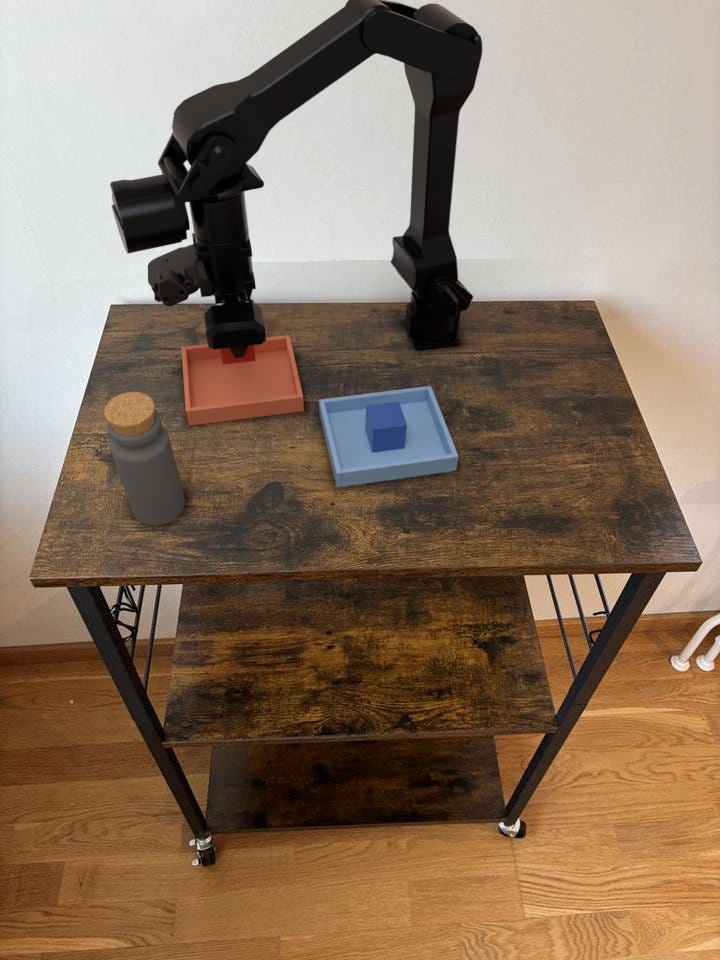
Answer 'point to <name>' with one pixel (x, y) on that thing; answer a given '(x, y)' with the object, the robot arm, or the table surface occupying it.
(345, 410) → the blue tray
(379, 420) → the blue block
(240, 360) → the red block
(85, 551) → the table surface
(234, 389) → the orange tray
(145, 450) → the bottle
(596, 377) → the table surface
